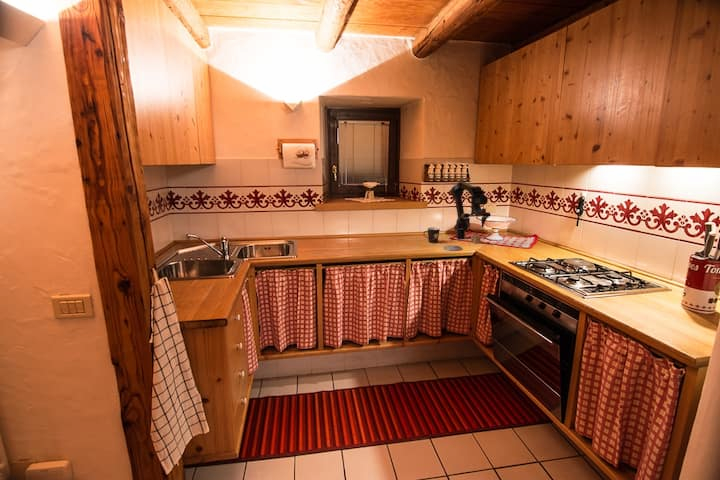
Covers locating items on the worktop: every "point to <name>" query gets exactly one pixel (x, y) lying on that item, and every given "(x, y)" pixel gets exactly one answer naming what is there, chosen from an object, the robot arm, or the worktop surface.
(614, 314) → the worktop surface
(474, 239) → the block
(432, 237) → the coffee mug
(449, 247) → the coaster
